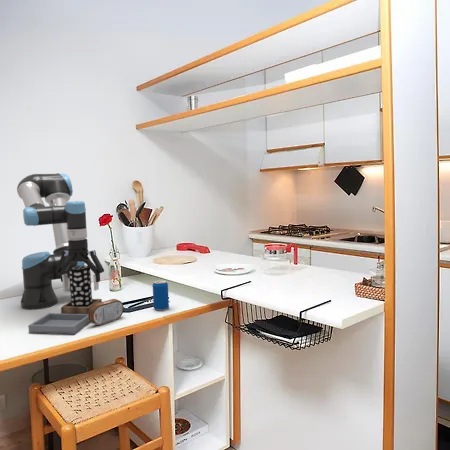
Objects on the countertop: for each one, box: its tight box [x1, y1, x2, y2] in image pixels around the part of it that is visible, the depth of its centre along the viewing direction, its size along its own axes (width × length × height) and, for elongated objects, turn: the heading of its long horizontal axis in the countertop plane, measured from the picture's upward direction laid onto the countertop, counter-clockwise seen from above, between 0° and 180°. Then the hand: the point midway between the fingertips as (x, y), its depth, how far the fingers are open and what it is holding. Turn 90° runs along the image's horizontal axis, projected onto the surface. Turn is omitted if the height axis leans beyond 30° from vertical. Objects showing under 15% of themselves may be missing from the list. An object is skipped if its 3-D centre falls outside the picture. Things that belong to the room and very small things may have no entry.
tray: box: [27, 312, 92, 336], centre depth 163 cm, size 18×14×3 cm
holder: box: [60, 298, 103, 314], centre depth 177 cm, size 12×12×5 cm
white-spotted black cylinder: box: [69, 265, 93, 307], centre depth 176 cm, size 8×8×20 cm
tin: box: [88, 298, 124, 326], centre depth 167 cm, size 15×3×8 cm, turn 141°
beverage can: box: [152, 279, 170, 312], centre depth 182 cm, size 6×6×12 cm
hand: (81, 289), depth 176 cm, fingers open, 13 cm apart
